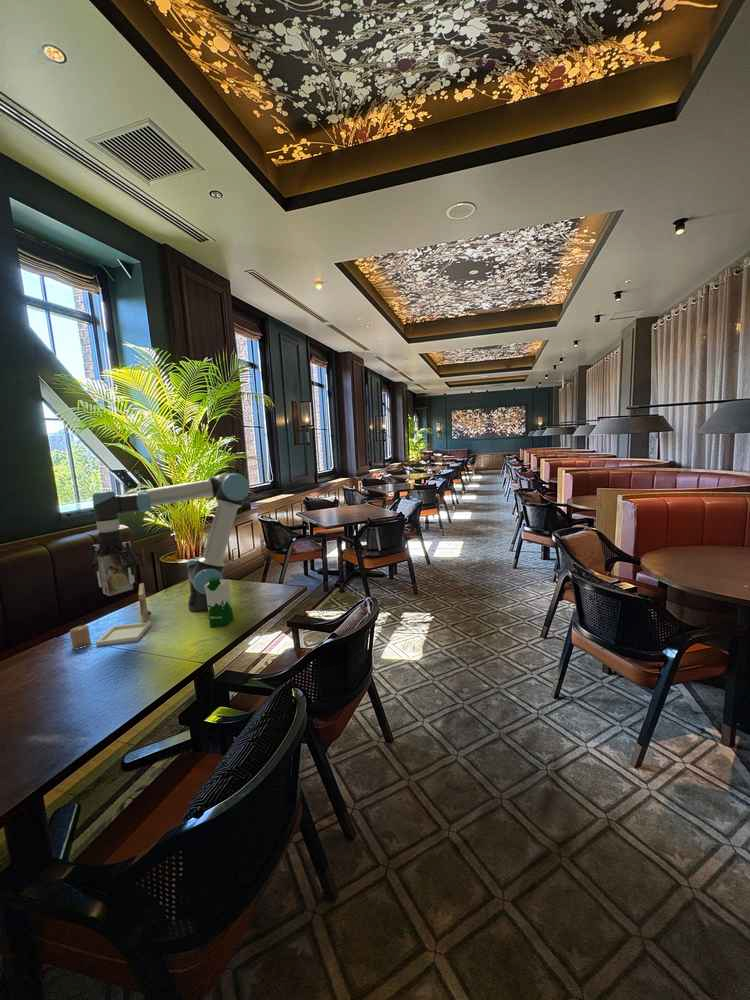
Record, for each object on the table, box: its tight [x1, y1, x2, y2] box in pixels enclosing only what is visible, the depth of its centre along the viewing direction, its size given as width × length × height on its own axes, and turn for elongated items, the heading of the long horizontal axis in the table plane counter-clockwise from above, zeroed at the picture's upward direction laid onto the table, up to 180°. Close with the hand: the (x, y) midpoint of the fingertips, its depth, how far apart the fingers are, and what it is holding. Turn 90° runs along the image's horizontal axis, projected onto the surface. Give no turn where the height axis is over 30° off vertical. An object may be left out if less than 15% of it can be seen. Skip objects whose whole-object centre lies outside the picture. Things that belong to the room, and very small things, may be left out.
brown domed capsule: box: [69, 624, 92, 649], centre depth 163 cm, size 6×6×7 cm
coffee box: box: [96, 549, 134, 597], centre depth 167 cm, size 9×6×16 cm
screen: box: [138, 582, 152, 623], centre depth 186 cm, size 4×18×14 cm, turn 28°
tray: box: [95, 620, 152, 647], centre depth 170 cm, size 15×15×2 cm
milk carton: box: [204, 578, 234, 628], centre depth 175 cm, size 9×9×20 cm
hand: (117, 584), depth 168 cm, fingers closed on coffee box, 11 cm apart
